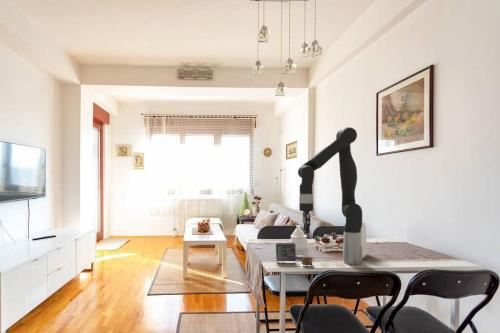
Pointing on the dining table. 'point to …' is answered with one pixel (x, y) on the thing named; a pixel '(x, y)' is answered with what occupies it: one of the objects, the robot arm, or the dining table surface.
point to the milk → (362, 240)
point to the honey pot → (300, 241)
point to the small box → (285, 252)
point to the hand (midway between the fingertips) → (306, 231)
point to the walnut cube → (306, 259)
